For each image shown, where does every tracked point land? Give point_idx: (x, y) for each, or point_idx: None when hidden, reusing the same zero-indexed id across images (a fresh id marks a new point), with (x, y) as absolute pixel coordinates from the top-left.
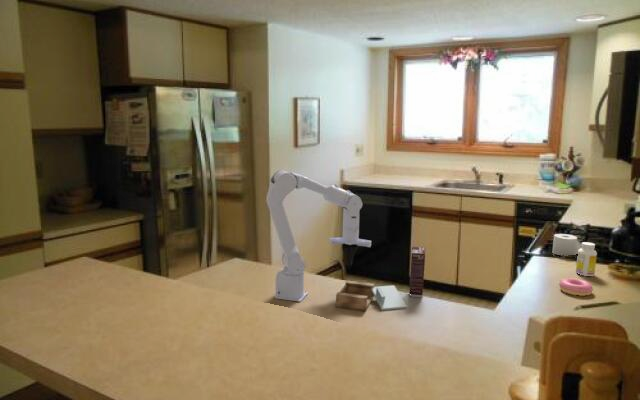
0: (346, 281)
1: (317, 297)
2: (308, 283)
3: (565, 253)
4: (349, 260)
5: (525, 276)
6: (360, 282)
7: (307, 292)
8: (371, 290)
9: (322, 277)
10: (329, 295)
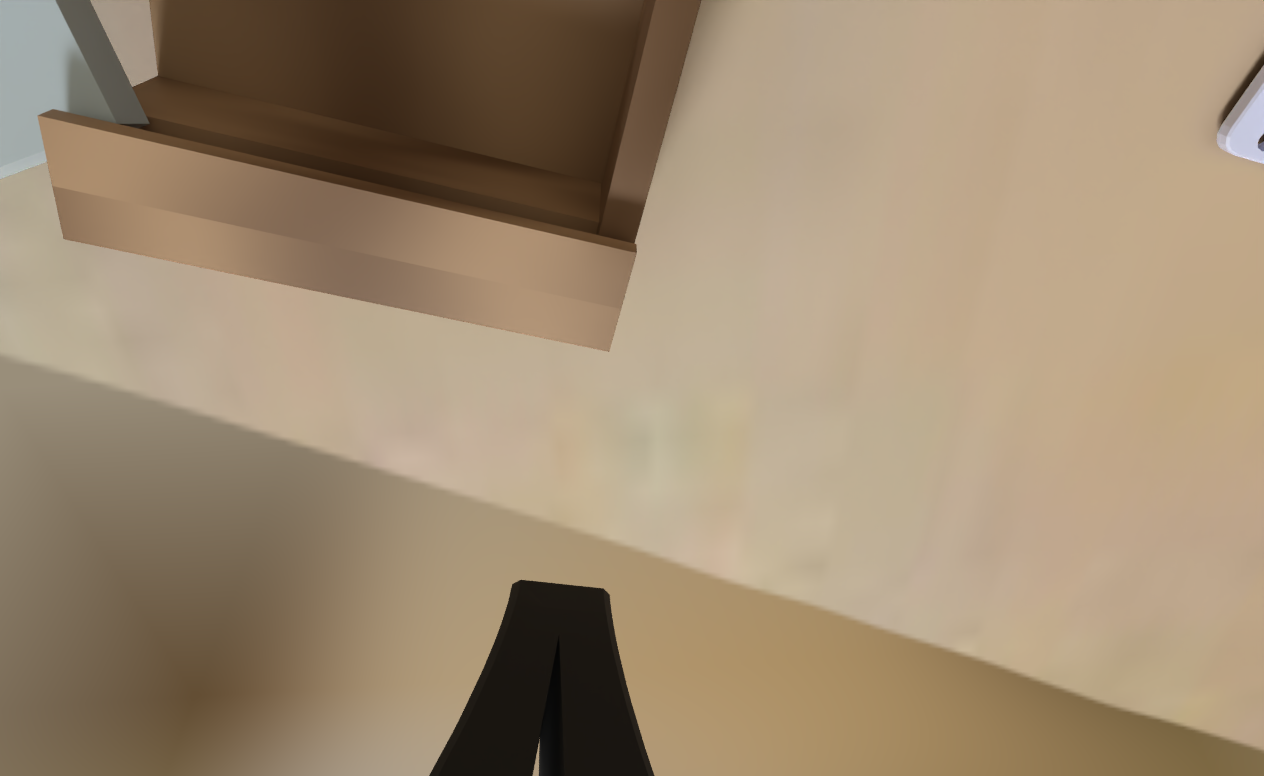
0: (618, 301)
1: (1093, 4)
2: (1072, 475)
3: None
4: (542, 696)
5: None
6: (353, 278)
7: (1230, 142)
8: (125, 74)
9: (875, 616)
10: (877, 114)
